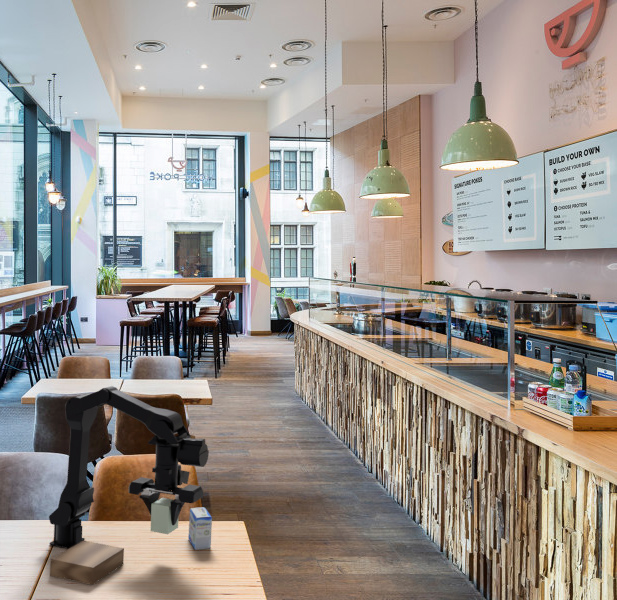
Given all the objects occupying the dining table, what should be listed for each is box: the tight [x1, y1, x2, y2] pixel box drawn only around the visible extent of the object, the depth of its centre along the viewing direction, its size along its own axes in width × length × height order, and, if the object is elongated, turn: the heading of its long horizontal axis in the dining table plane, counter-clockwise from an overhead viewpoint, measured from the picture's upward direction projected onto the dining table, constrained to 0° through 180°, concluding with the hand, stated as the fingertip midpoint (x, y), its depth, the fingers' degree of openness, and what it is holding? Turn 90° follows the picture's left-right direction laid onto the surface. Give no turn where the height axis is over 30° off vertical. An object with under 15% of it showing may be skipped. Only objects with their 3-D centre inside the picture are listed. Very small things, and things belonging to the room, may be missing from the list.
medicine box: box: [188, 507, 213, 551], centre depth 172 cm, size 8×4×9 cm, turn 23°
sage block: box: [150, 497, 180, 535], centre depth 162 cm, size 5×5×7 cm
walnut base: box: [49, 540, 125, 586], centre depth 154 cm, size 12×12×4 cm
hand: (164, 523), depth 162 cm, fingers closed on sage block, 5 cm apart
